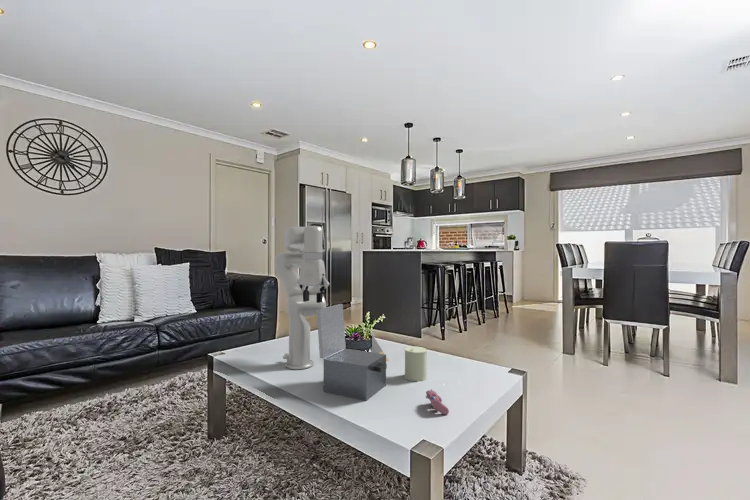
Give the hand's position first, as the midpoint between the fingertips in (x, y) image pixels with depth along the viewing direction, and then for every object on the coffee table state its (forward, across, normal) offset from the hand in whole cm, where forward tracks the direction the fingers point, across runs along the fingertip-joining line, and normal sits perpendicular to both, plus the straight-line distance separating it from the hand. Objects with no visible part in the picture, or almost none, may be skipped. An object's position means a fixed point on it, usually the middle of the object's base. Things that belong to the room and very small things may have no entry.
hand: (312, 301), depth 145 cm
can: (+32, +36, +22) cm, 53 cm away
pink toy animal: (+32, +52, -3) cm, 61 cm away
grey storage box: (+32, +21, 0) cm, 38 cm away
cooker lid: (+10, +10, 0) cm, 14 cm away
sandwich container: (+32, +9, +36) cm, 49 cm away
